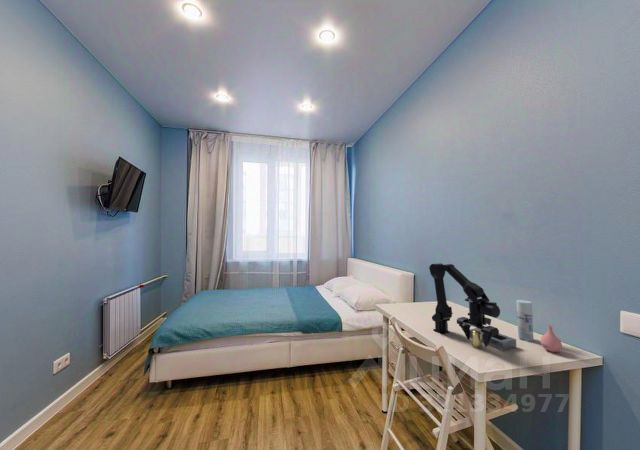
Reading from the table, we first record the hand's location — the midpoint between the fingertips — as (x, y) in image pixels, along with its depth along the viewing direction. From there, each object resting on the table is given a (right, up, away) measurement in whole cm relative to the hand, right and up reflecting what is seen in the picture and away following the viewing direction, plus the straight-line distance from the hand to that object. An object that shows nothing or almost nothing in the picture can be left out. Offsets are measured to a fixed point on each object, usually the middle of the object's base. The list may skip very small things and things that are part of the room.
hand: (477, 342), depth 125 cm
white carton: (+31, -2, +8) cm, 32 cm away
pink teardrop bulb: (+32, -1, -6) cm, 33 cm away
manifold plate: (+11, -2, +5) cm, 12 cm away
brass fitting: (0, -2, 0) cm, 2 cm away
